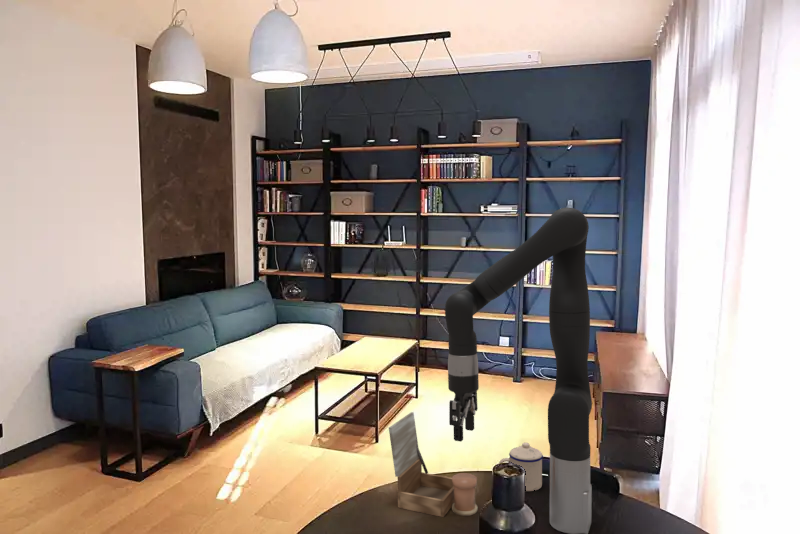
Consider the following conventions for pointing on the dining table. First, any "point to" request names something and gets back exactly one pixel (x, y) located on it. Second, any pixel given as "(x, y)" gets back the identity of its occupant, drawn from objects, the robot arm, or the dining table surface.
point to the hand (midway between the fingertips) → (464, 435)
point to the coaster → (464, 513)
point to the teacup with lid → (528, 464)
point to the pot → (464, 491)
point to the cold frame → (417, 473)
